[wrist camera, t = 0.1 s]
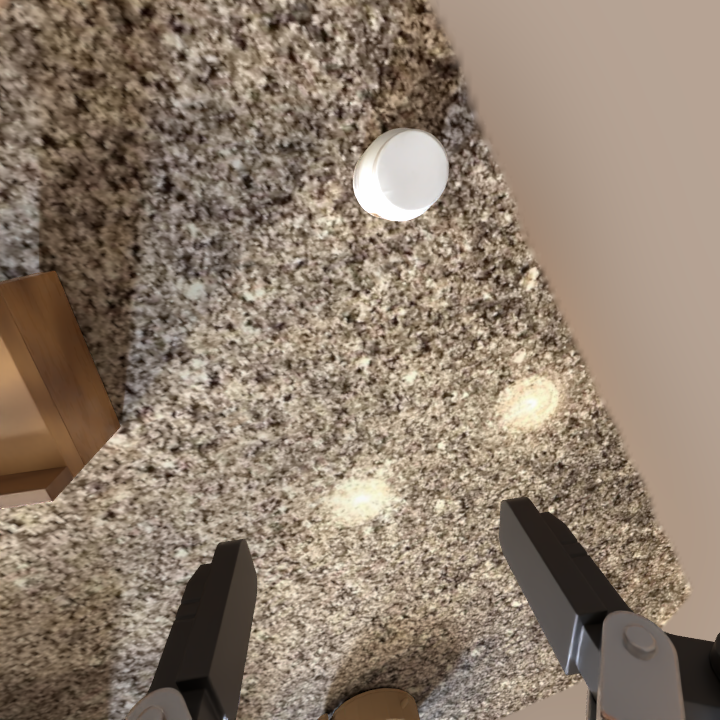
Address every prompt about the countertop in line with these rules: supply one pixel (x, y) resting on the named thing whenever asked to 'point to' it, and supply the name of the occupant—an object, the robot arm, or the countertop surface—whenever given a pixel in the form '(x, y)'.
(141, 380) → the countertop surface
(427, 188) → the pill bottle
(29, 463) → the shelf
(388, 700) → the alarm clock
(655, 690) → the robot arm
